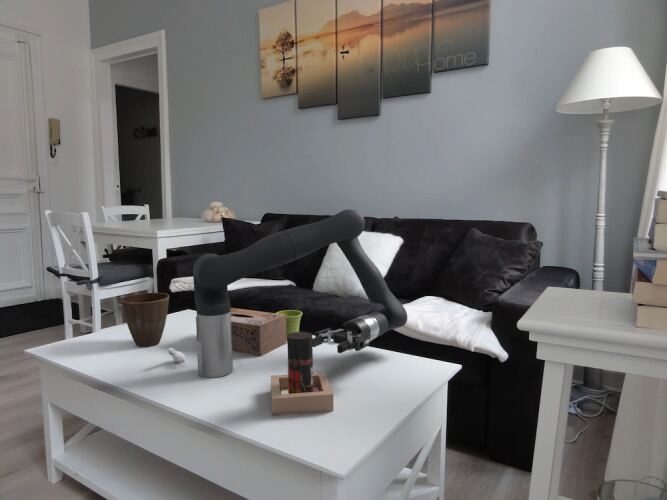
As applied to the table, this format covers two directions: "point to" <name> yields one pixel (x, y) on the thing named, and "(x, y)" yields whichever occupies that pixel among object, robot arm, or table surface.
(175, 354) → the rabbit figurine
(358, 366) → the table surface
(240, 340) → the tissue box cover
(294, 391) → the deodorant
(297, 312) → the plant pot
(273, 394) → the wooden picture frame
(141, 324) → the plant pot
